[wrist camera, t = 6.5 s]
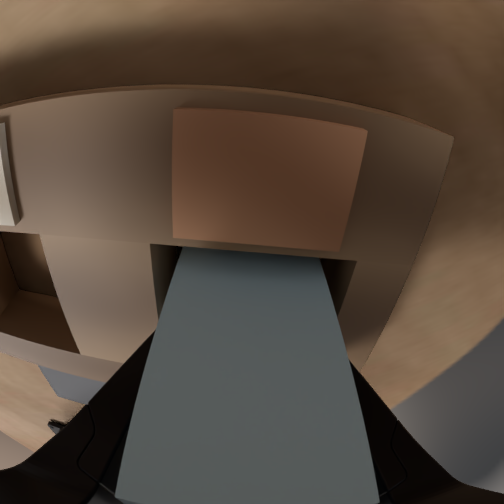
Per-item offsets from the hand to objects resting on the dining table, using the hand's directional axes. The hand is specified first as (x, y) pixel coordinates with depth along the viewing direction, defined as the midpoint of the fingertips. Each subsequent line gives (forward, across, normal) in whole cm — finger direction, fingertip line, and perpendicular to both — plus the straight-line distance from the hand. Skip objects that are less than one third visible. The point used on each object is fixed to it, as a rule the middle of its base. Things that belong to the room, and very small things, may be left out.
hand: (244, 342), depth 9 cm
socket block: (+4, +4, -1) cm, 6 cm away
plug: (+2, 0, 0) cm, 2 cm away
